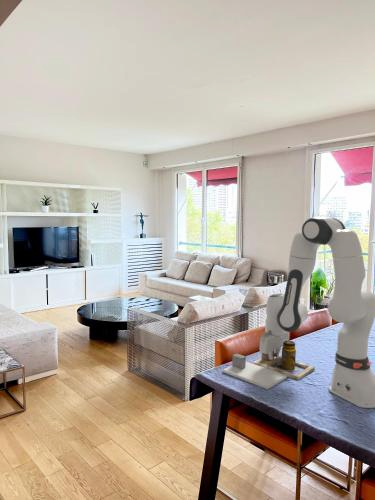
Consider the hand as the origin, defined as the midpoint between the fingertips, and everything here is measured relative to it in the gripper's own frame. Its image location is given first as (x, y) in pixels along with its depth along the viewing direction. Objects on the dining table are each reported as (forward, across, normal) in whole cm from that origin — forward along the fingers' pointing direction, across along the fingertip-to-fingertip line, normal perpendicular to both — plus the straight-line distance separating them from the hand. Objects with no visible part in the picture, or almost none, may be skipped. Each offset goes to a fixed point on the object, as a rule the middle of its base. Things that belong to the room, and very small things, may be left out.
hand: (273, 357), depth 176 cm
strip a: (+3, 0, -5) cm, 6 cm away
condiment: (+3, 0, -6) cm, 7 cm away
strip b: (+3, -17, -1) cm, 17 cm away
